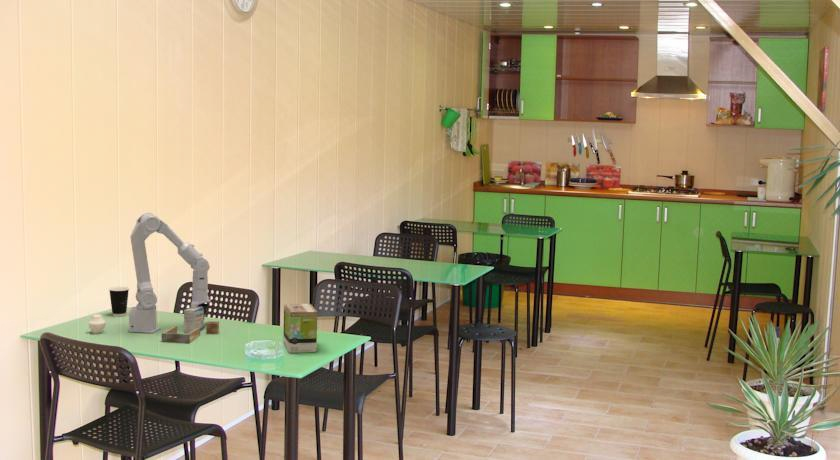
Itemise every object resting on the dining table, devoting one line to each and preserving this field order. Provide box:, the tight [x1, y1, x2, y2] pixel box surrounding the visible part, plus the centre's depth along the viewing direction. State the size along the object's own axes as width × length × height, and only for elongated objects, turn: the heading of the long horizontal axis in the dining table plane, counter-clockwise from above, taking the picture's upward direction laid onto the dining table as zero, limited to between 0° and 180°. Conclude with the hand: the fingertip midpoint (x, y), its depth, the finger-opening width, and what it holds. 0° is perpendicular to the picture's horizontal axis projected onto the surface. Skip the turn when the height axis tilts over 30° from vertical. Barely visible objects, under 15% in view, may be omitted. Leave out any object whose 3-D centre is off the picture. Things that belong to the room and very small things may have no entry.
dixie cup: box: [108, 286, 130, 317], centre depth 366 cm, size 8×8×11 cm
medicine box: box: [183, 306, 205, 333], centre depth 343 cm, size 8×4×9 cm, turn 168°
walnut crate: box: [205, 320, 220, 335], centre depth 341 cm, size 4×4×4 cm
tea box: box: [282, 303, 318, 354], centre depth 321 cm, size 15×10×15 cm, turn 17°
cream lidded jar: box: [88, 313, 107, 335], centre depth 336 cm, size 6×6×7 cm
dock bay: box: [161, 325, 201, 344], centre depth 331 cm, size 10×12×3 cm
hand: (200, 323), depth 350 cm, fingers closed
